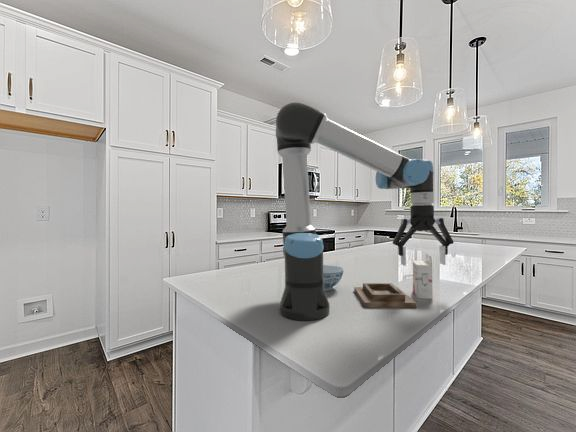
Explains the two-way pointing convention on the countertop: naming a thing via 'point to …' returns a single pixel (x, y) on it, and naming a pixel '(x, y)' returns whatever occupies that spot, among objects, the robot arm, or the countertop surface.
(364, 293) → the walnut bay board
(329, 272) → the chinaware
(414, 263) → the ink cartridge box
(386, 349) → the countertop surface
